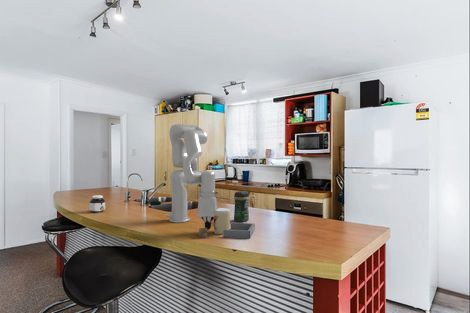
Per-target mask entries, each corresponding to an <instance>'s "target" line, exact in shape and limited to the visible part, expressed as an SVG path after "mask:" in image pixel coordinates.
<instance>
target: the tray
mask: <svg viewBox="0 0 470 313" xmlns="http://www.w3.org/2000/svg"><path fill="white" fill-rule="evenodd" d="M255 229H256V224H255V223H253V222H252V223H248V222H247V223H246V222H231V221H230V229H229V230H228V229H224V234H223V238H231V239H232V238H234V239H248V238H250V239H251V237H252V235H253V234H254V232H255V231H256V230H255ZM254 230H255V231H254Z"/></svg>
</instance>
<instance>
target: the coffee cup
mask: <svg viewBox="0 0 470 313" xmlns="http://www.w3.org/2000/svg"><path fill="white" fill-rule="evenodd" d="M213 218H214V219H213V229H214V230H213V231H214V234H215V235H224V229H228V230H230V227H231V209H230V208H227V207H218V209H217V210H214V217H213Z"/></svg>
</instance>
